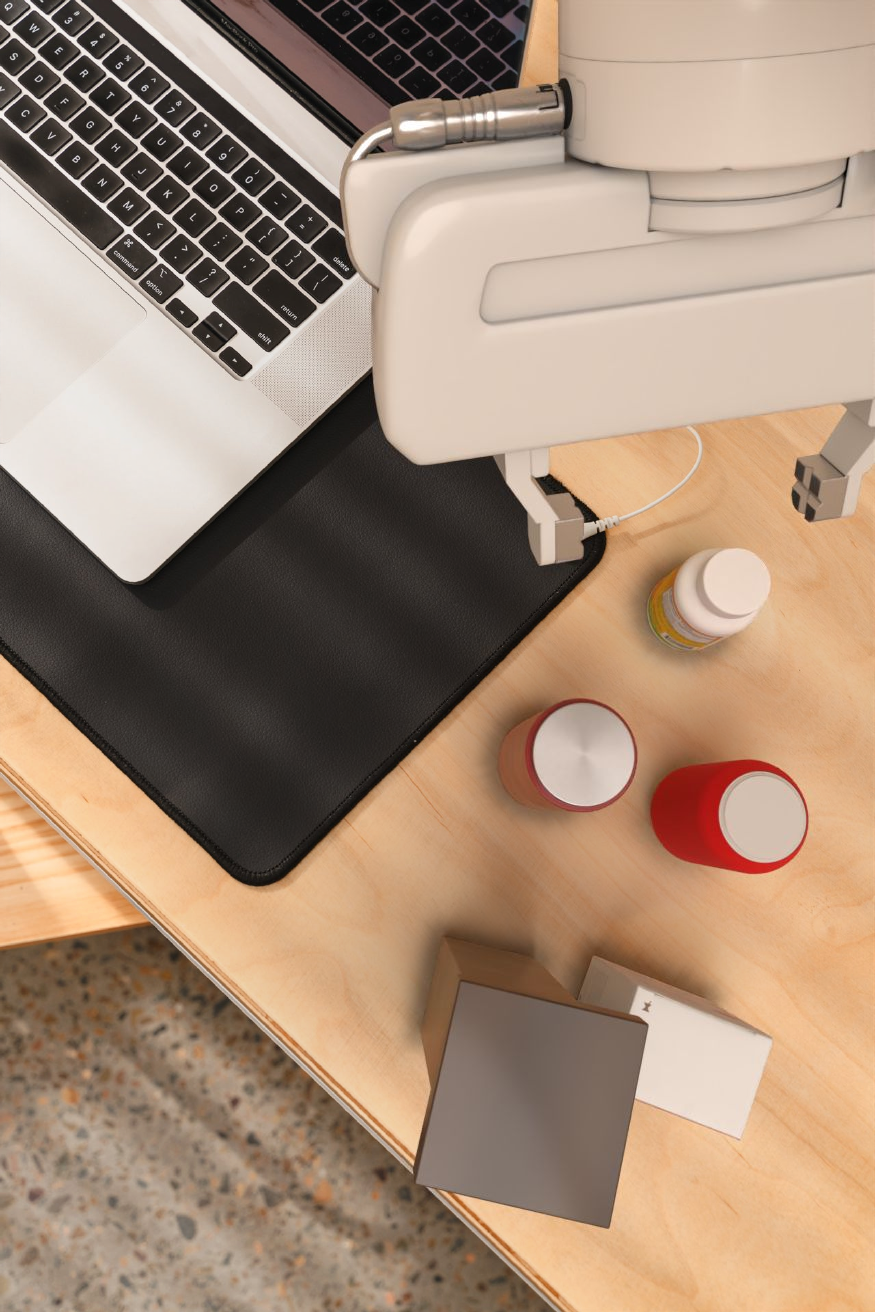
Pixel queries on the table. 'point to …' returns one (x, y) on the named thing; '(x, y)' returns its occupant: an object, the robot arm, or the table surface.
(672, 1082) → the small box
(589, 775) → the soda can
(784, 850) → the beverage can
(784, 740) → the table surface
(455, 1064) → the walnut stand
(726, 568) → the supplement bottle
